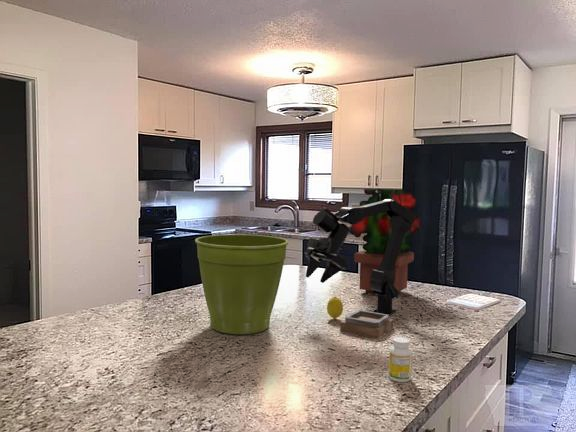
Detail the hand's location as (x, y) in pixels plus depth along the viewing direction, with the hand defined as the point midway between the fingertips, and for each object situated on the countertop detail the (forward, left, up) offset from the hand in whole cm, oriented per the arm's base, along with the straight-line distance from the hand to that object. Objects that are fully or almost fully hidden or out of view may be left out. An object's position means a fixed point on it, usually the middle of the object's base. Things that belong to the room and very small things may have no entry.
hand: (313, 279), depth 162 cm
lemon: (-8, +4, -15) cm, 18 cm away
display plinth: (-4, +18, -15) cm, 24 cm away
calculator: (-63, +39, -16) cm, 76 cm away
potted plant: (-57, +3, -15) cm, 59 cm away
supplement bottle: (+28, +40, -15) cm, 51 cm away
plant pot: (+18, -17, -15) cm, 29 cm away
